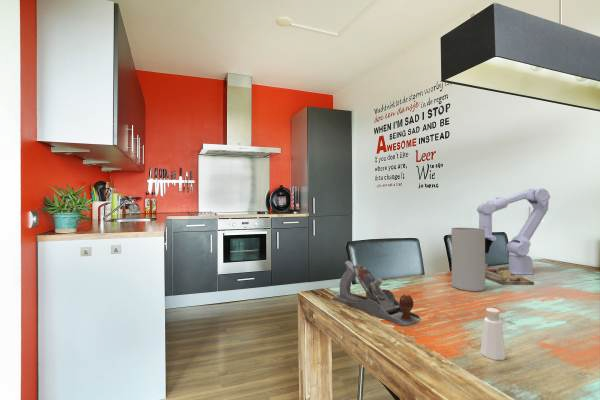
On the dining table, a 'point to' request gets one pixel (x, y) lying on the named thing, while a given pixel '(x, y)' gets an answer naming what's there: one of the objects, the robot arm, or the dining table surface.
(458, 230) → the cylinder vase
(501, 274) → the block
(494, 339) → the salt shaker
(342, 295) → the hand plane
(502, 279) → the trammel
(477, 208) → the robot arm
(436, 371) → the dining table surface
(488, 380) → the dining table surface
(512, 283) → the slide rail board
